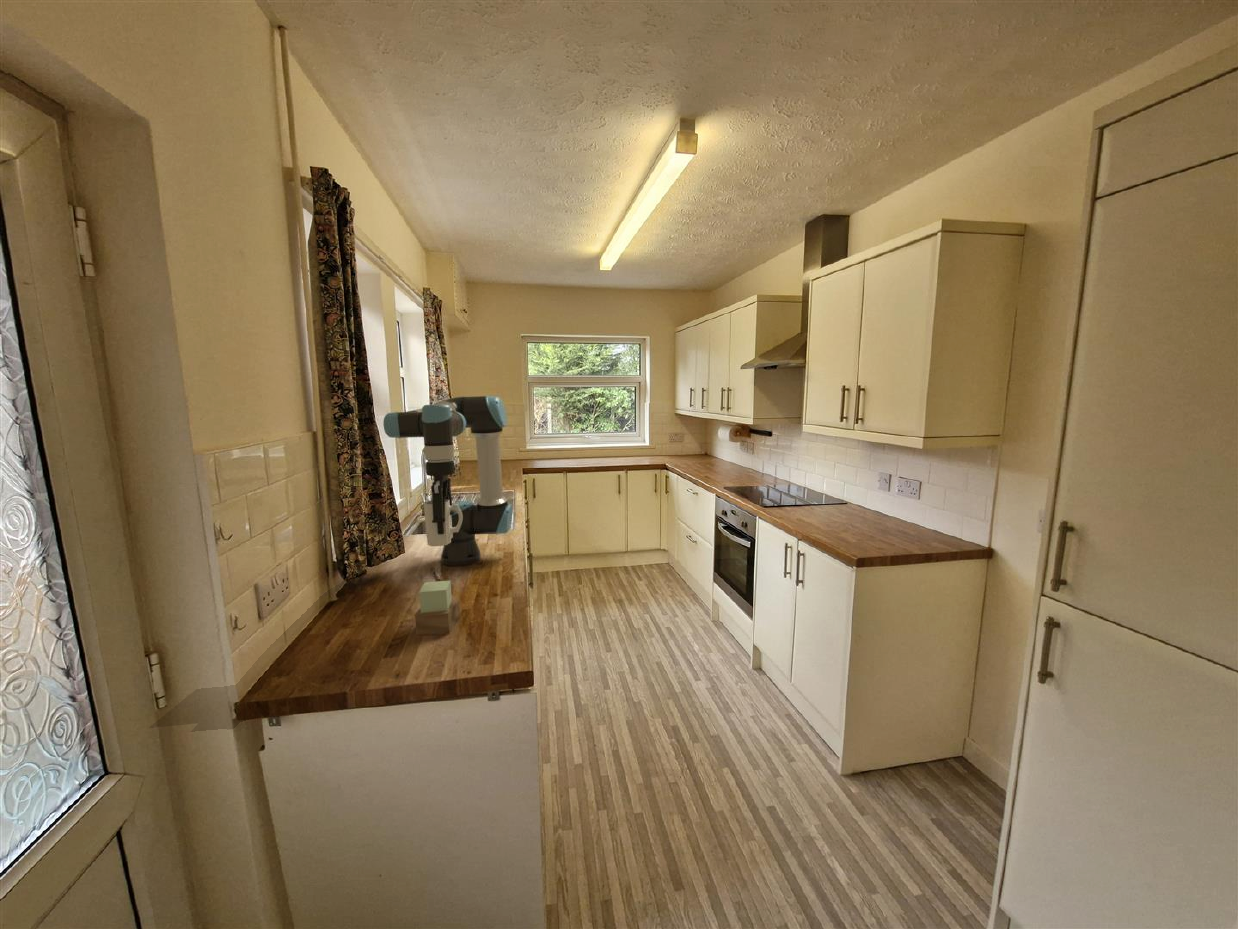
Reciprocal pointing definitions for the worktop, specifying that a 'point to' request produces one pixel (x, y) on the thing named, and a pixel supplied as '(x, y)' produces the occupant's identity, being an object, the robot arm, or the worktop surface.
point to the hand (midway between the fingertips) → (445, 541)
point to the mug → (432, 526)
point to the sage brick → (435, 596)
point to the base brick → (438, 620)
